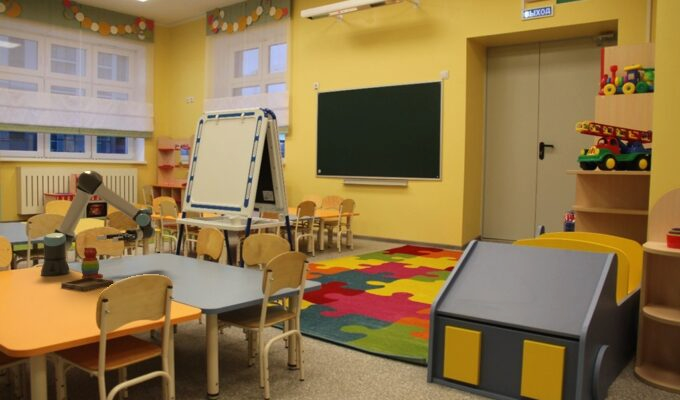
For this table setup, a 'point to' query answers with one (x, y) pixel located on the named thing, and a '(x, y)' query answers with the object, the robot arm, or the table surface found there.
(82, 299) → the table surface
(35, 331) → the table surface
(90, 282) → the dark brown square tray
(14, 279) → the table surface
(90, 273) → the stacking bear
